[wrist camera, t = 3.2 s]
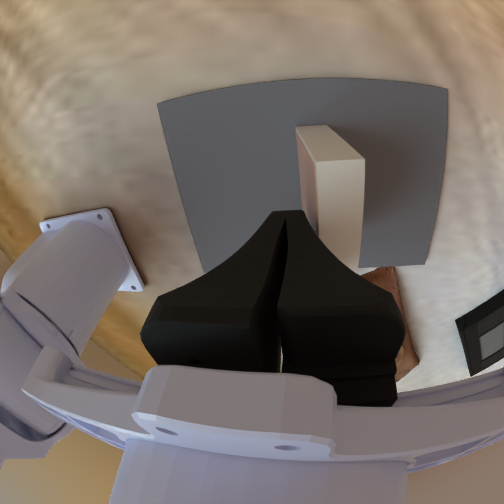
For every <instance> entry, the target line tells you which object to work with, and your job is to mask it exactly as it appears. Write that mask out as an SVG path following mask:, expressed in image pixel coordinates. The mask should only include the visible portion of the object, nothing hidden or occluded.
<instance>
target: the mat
mask: <svg viewBox="0 0 504 504" xmlns="http://www.w3.org/2000/svg"><path fill="white" fill-rule="evenodd" d="M157 107H158V111H159V115H160V119H161V124H162V128H163V132H164V136H165V140H166V144H167V148H168V151H169V155H170V159H171V163H172V167H173V170H174V174H175V178H176V181H177V185H178V188H179V192H180V195H181V199H182V202H183V206H184V209H185V213H186V216H187V219H188V223H189V226H190V229H191V232H192V236H193V239H194V242H195V245H196V249H197V252H198V255H199V258H200V261H201V264H202V267H203V270H204V272H209V271H211V270H212V269H214V268H215V267H217V266H218V265H220V264H221V263H223V262H224V261H225V260H227V259H228V258H229V257H230V256H232V255H233V254H234V253H235V252H236V251H238V250H239V249H240V248H241V247H242V246H243V245H244V244H245V243H246V242H247V241H248V240H249V239H250V238H251V237H252V235H253V234H254V233H255V232H256V231H257V230H258V228H259V227H260V226H261V225H262V223H263V222H264V221H265V220H266V218H267V217H268V216H269V214H270V213H271V212H272V211H283V210H302V201H301V188H300V175H299V164H298V153H297V142H296V133H295V131H296V127H300V126H314V125H327V126H328V127H329V128H331V129H332V130H333V131H334V132H335V133H337V134H338V135H339V136H340V137H341V138H342V139H343V140H345V141H346V142H347V143H348V144H349V145H350V146H351V147H352V148H353V149H355V150H356V151H357V152H358V153H359V154H360V155H361V156H362V157H363V158H364V159H365V186H364V208H363V223H362V235H361V246H360V256H359V265H358V268H366V267H387V266H406V265H424V264H425V261H426V258H427V254H428V250H429V246H430V242H431V238H432V234H433V229H434V225H435V220H436V215H437V210H438V204H439V199H440V193H441V186H442V179H443V171H444V163H445V153H446V140H447V120H448V89H445V88H440V87H435V86H429V85H422V84H415V83H408V82H399V81H389V80H376V79H355V78H318V79H296V80H283V81H272V82H263V83H255V84H247V85H241V86H234V87H228V88H222V89H217V90H212V91H207V92H202V93H197V94H193V95H189V96H184V97H180V98H176V99H172V100H169V101H165V102H161V103H158V104H157Z"/></svg>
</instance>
